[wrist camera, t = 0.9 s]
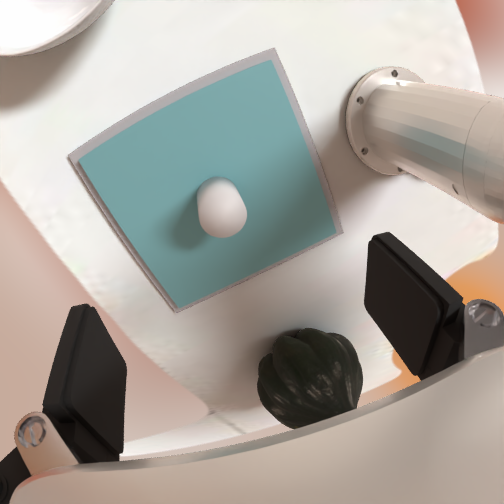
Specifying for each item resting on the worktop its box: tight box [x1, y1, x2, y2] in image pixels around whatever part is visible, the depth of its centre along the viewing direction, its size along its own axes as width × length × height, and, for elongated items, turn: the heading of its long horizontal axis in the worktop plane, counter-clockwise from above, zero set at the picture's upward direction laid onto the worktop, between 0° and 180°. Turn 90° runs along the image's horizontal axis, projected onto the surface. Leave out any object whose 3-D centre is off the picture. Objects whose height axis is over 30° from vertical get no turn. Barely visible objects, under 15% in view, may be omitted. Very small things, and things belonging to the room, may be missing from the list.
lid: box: [78, 60, 337, 308], centre depth 29 cm, size 20×20×6 cm
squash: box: [257, 328, 363, 429], centre depth 41 cm, size 14×15×15 cm
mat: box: [68, 48, 343, 313], centre depth 32 cm, size 22×22×1 cm
